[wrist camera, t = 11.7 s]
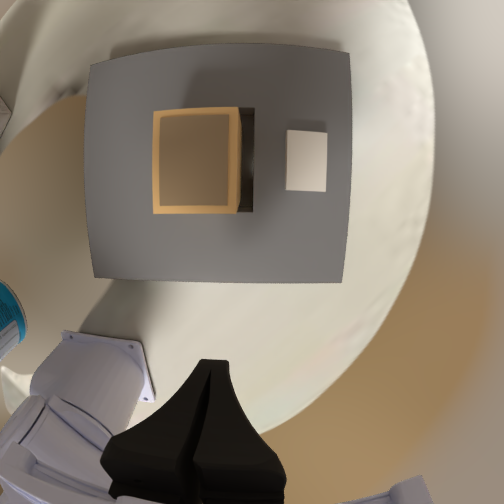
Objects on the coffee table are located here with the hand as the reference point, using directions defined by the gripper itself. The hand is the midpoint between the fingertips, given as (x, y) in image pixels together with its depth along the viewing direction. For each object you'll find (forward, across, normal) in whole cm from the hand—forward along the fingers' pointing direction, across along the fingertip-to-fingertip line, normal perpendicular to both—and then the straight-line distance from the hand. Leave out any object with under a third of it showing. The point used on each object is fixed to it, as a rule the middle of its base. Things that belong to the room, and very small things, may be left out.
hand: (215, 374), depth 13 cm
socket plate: (+9, +1, -10) cm, 14 cm away
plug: (+10, +1, -10) cm, 14 cm away
